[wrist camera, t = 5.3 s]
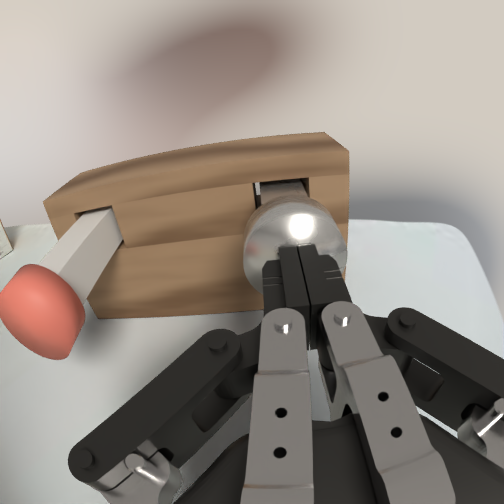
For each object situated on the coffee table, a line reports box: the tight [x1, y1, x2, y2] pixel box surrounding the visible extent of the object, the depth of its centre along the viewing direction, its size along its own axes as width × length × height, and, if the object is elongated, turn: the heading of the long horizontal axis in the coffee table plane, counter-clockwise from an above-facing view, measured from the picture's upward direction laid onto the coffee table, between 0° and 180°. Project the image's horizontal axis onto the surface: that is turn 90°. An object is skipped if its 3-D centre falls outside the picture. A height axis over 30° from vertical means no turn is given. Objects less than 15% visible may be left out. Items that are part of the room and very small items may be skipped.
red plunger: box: [0, 205, 123, 360], centre depth 15 cm, size 12×4×4 cm, turn 1°
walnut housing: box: [43, 132, 349, 319], centre depth 21 cm, size 6×20×11 cm, turn 91°
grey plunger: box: [243, 178, 347, 294], centre depth 17 cm, size 12×4×4 cm, turn 1°
